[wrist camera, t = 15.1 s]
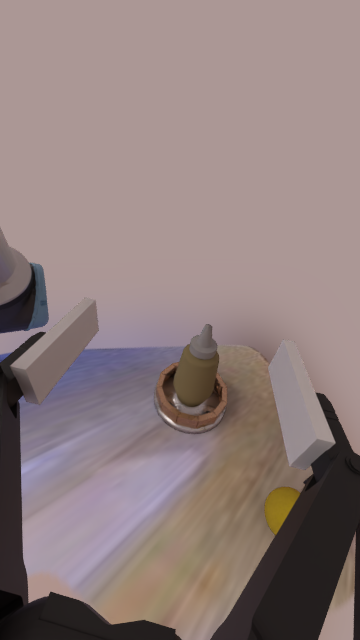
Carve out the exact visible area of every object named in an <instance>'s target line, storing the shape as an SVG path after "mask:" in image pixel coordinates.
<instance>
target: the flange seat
mask: <svg viewBox="0 0 360 640" xmlns="http://www.w3.org/2000/svg"><path fill="white" fill-rule="evenodd" d="M178 365H179V362H177V363H173V364H171V365H170V366H169V367H167V368H166V369H165V370H164V371H162V372H161V374H160V377H159V381H158V382H157V384H156V387H155V392H154V403H155V407H156V410H157V412H158V414H159V416H160V417H161V418H162V420H163V421H164V422H165V423H166V424H168V425H169V426H170V427H172V428H174V429H175V430H178V431H180V432H183V433H188V434H199V433H204V432H207V431H209V430H211V429H213V428H214V427H215V426H217V425H218V423H219V422H220V421H221V419H222V417H223V415H224V413H225V409H226V404H227V387H226V385H225V383H224V382H223V380H222V378H221V377H220V375H219V374H218V373H217V374H216V379H215V384H214V389H213V392H212V394H211V396H210V397H209V398H208V399H207V400H205V401H204V402H203V403H202V404H200V405H199V406H196V407H189V406H186V405H184V404H182V403H181V402H180V400H179V399H178V397H177V394H176V391H175V387H174V384H173V381H174V377H175V374H176V371H177V368H178Z"/></svg>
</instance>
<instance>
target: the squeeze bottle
mask: <svg viewBox="0 0 360 640" xmlns="http://www.w3.org/2000/svg"><path fill="white" fill-rule="evenodd" d="M218 363H219V355H218V353H217V343H216V342H215V341H214V340H213V339H212V326H211V325H209V324H206V325H205V327H204V328H203V330H202V332H201V334H200V335H197V336H195V337H193V338H192V339H191V342H190V344H189V345H187V346H186V347H185V348H184V350H183V353H182V356H181V359H180V362H179V365H178V368H177V371H176V374H175V377H174V381H173V384H174V387H175V391H176V394H177V397H178V399H179V400H180V402H181V403H182V404H184V405H186V406H189V407H196V406H199V405H200V404H202V403H203V402H204V401H205V400H207V399H208V398H209V397H210V396H211V394H212V392H213V389H214V384H215V379H216V374H217V368H218Z"/></svg>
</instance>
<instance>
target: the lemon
mask: <svg viewBox="0 0 360 640" xmlns="http://www.w3.org/2000/svg"><path fill="white" fill-rule="evenodd" d="M299 495H300V492H298V491H297V490H295V489H293V488H290V487H280V488H277V489H275V490H273V491H272V492H271V493H270V494H269V495H268V497H267V499H266V502H265V517H266V520H267V523H268V525H269V527H270V529H271V530H272V532H273V533H274V534H275V535H276V534H277V532H278V531H279V529H280V527H281V526H282V524H283V522H284V521H285V519H286V517H287V515H288V514H289V512H290V510H291V509H292V507H293V505H294V504H295V502H296V500H297V498H298V497H299Z"/></svg>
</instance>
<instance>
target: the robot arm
mask: <svg viewBox="0 0 360 640" xmlns="http://www.w3.org/2000/svg"><path fill="white" fill-rule="evenodd" d="M48 319H49V317H48V307H47V297H46V286H45V278H44V271H43V268H42V266H41V265H40V264H34V263H29V262H28V261H27V259H26V258H25V257H24V256H23V255H22V254H21V253H20V252H18V251H17V250H15V249H14V248H11V247H9V245H8V243H7V241H6V239H5V237H4V235H3V232H2V230H1V228H0V333H6V332H14V331H21V330H24V331H28V330H30V329H33V328H38V327H43V326H45V325H46V324H47V322H48ZM98 331H99V328H98V320H97V309H96V300H94V299H89V298H84V299H83V300H82V301H81V302H80V303H79V304H78V305H77V306H76V307H74V308H73V309H72V310H71V311H70V312H69V313H68V314H67V315H66V316H65V317H64V318H62V319H61V320H60V321H59V322H58V323H57V324H56V325H55V326H53V328H51V329H50V330H49V331H48V332H47V333H45V332H39V333H37V334H35V335H33V336H31V337H30V338H29V339H28V340H27V341H25V343H23V344H22V345H21V346H20V347H19V348H17V349H16V350H15V351H14V352H13V353H11V354H10V355H9V356H8V357H7V358H6V359H4V360H3V361H2V362H1V363H0V640H182V639H181V638H180V637H179V636H177V635H176V634H175V630H176V629H172V628H169V627H166V626H162V625H159V624H156V623H152V622H149V621H146V620H140V621H134V622H127V623H120V624H114V625H112V624H110V623H109V622H108V621H106V620H105V619H104V618H103V617H102V616H101V615H100V614H99V613H97V612H96V611H95V610H94V609H93V608H92V607H91V606H90V605H88V604H86V603H84V602H82V601H80V600H76V599H73V598H69V597H66V596H63V595H59V594H56V593H53V592H50V594H49V596H47V597H43V598H40V599H37V600H35V601H32V602H31V603H28V581H27V573H26V568H25V565H24V561H23V543H22V497H21V452H20V407H19V402H18V400H19V399H20V398H21V397H22V396H24V398H25V400H26V402H30V403H34V404H38V405H40V404H41V403H42V401H43V400H44V399H45V398H46V396H47V395H48V394H49V392H50V391H51V390H52V389H53V387H54V386H55V385H56V384H57V382H58V381H59V380H60V379H61V377H62V376H63V375H64V374H65V372H66V371H67V370H68V369H69V367H70V366H71V365H72V363H73V362H74V361H75V360H76V358H77V357H78V356H79V355H80V353H81V352H82V351H83V350H84V348H85V347H86V346H87V345H88V343H89V342H90V341H91V339H92V338H93V337H94V336H95V334H96V333H97V332H98ZM268 369H269V374H270V379H271V383H272V388H273V393H274V397H275V402H276V406H277V411H278V416H279V420H280V425H281V430H282V434H283V439H284V444H285V448H286V453H287V458H288V462H289V466H290V467H294V468H298V469H302V470H306V469H307V468H308V467H309V466H310V465H311V466H312V470H313V473H314V474H313V475H311V476H310V477H309V478H308V479H306V480H305V481H304V482H303V483H304V484H306V485H305V487H304V488H303V490H302V492H301V493H300V495H299V497H298V498H297V500H296V502H295V504H294V505H293V507H292V509H291V510H290V512H289V514H288V515H287V517H286V519H285V521H284V522H283V524H282V526H281V527H280V529H279V531H278V532H277V534H276V536H275V538H274V539H273V541H272V543H271V544H270V546H269V548H268V549H267V551H266V553H265V554H264V556H263V558H262V560H261V561H260V563H259V565H258V566H257V568H256V570H255V571H254V573H253V575H252V577H251V578H250V580H249V582H248V583H247V585H246V587H245V588H244V590H243V592H242V594H241V595H240V597H239V599H238V600H237V602H236V604H235V605H234V607H233V609H232V611H231V612H230V614H229V615H228V617H227V618H226V620H225V621H224V622H223V623H222V625H221V626H220V627H219V628H218V629H217V630H216V632H215V633H214V635H213V636H212V638H211V639H210V640H318V638H319V635H320V632H321V629H322V626H323V624H324V621H325V618H326V615H327V612H328V609H329V606H330V603H331V601H332V598H333V595H334V592H335V589H336V586H337V583H338V580H339V578H340V575H341V572H342V569H343V566H344V563H345V560H346V557H347V555H348V552H349V549H350V546H351V543H352V540H353V537H354V534H355V532H356V554H355V596H354V638H353V640H360V456H359V455H357V454H356V453H354V452H353V450H352V448H351V446H350V444H349V441H348V439H347V437H346V435H345V433H344V430H343V428H342V426H341V424H340V422H339V421H338V420H339V419H338V417H337V415H336V414H335V410H334V408H333V406H332V404H331V402H330V401H329V400H328V399H327V398H326V396H325V395H324V394H320V393H316V392H315V391H314V388H313V386H312V383H311V381H310V378H309V376H308V374H307V371H306V368H305V366H304V363H303V361H302V358H301V356H300V353H299V351H298V348H297V346H296V344H295V342H293V341H288V340H283V341H282V343H281V345H280V346H279V348H278V350H277V352H276V354H275V356H274V358H273V360H272V361H271V363H270V365H269V367H268Z"/></svg>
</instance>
